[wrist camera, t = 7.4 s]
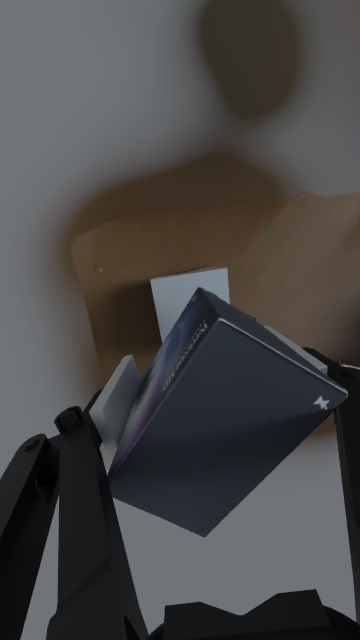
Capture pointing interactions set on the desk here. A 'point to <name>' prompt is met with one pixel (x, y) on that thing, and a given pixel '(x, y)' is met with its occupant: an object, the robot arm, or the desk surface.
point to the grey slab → (184, 293)
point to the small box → (215, 416)
